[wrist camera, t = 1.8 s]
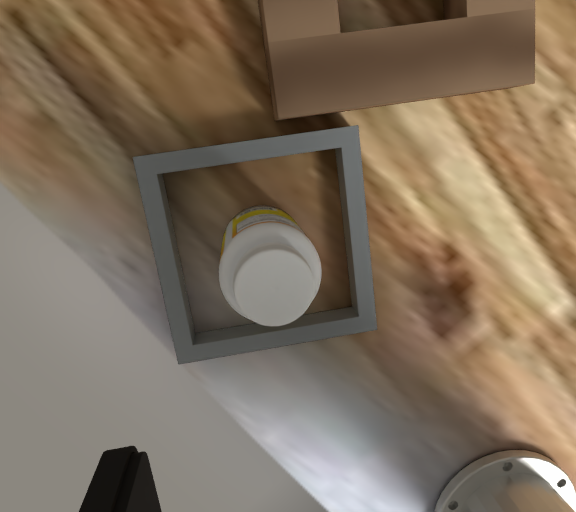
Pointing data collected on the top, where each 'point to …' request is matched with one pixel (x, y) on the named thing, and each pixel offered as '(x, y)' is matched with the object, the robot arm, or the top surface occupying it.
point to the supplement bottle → (268, 266)
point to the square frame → (256, 334)
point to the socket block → (393, 55)
